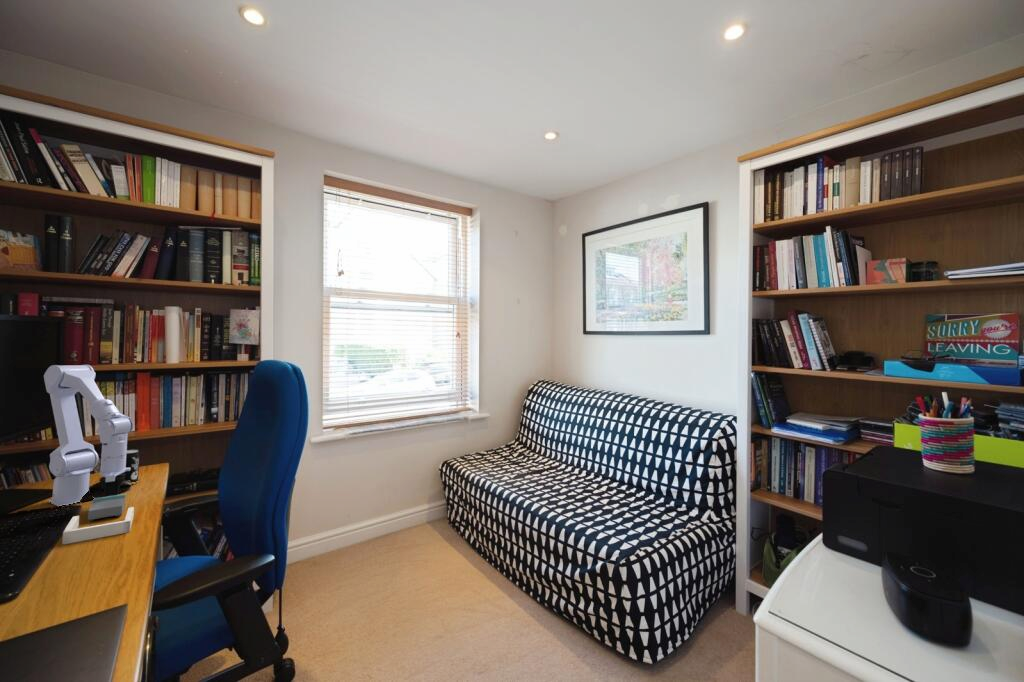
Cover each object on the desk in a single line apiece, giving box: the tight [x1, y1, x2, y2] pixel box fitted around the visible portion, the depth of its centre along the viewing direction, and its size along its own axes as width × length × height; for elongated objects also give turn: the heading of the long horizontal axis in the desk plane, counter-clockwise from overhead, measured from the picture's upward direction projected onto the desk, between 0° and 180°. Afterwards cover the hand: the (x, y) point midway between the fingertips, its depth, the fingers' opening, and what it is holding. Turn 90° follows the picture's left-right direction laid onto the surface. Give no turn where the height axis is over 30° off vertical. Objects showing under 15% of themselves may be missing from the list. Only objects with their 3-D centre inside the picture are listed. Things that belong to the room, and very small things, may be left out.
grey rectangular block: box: [87, 493, 127, 522], centre depth 122 cm, size 10×7×4 cm
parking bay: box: [61, 506, 135, 546], centre depth 111 cm, size 13×12×3 cm
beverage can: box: [121, 449, 140, 483], centre depth 149 cm, size 7×7×12 cm
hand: (111, 499), depth 129 cm, fingers closed
